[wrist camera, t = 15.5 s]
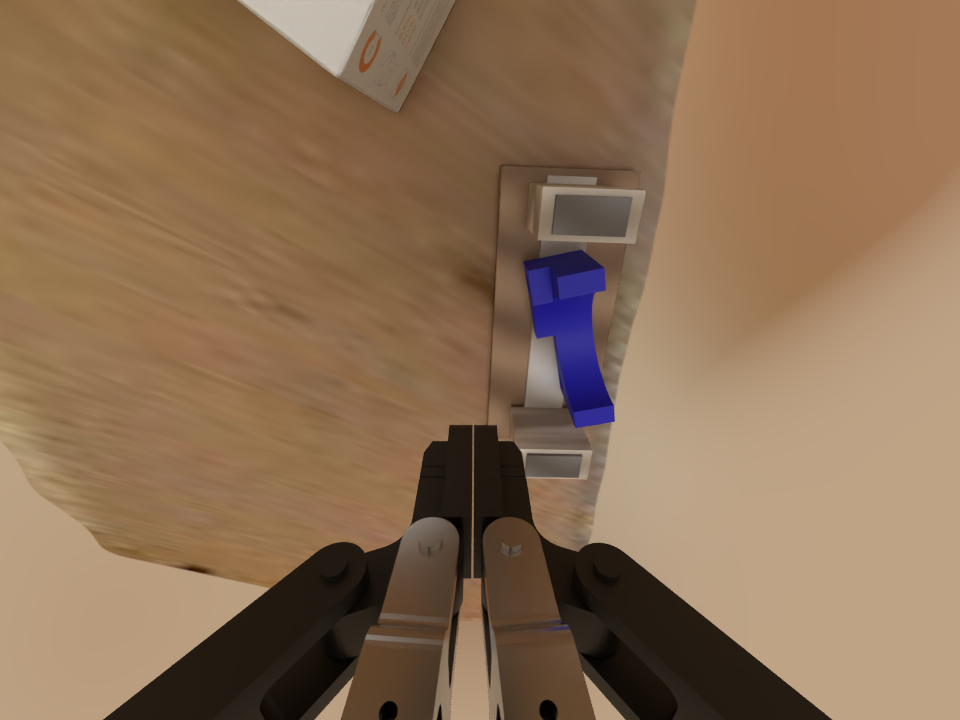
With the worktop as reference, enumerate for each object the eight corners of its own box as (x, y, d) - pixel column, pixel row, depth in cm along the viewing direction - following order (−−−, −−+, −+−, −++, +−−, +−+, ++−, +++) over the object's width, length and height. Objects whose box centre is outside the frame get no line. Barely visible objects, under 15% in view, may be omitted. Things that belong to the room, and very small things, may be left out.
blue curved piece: (523, 261, 30) (533, 282, 25) (581, 249, 30) (604, 267, 25) (543, 391, 36) (556, 431, 30) (593, 382, 35) (614, 421, 30)
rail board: (500, 165, 29) (509, 165, 22) (633, 171, 29) (687, 172, 22) (487, 428, 40) (489, 489, 32) (584, 430, 40) (609, 491, 33)
